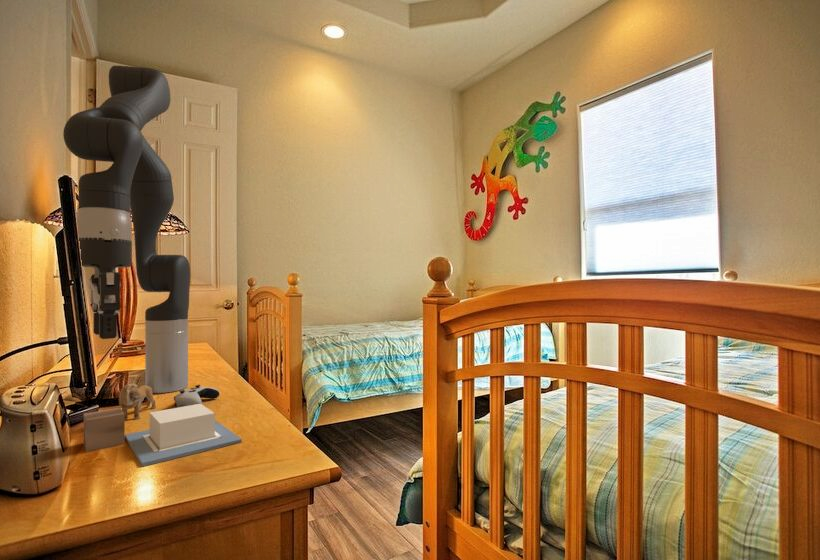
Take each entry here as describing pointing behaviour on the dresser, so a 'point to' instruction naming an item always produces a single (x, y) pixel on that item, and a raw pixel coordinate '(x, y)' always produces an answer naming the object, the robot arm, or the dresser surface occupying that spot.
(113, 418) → the walnut cube
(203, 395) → the game controller
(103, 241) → the robot arm
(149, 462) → the board
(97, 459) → the dresser surface
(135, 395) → the lion figurine
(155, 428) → the base slab
